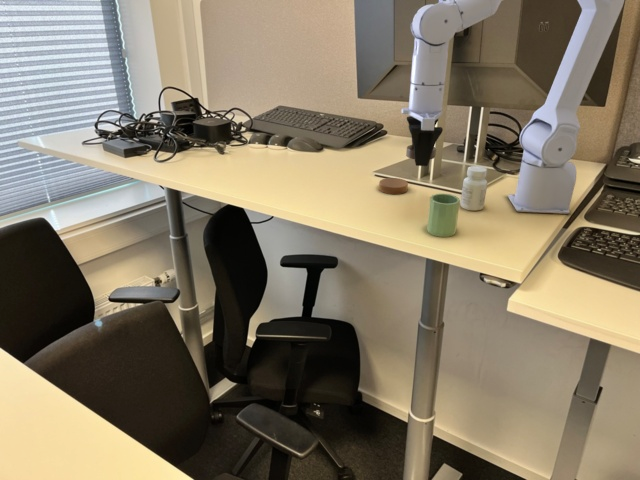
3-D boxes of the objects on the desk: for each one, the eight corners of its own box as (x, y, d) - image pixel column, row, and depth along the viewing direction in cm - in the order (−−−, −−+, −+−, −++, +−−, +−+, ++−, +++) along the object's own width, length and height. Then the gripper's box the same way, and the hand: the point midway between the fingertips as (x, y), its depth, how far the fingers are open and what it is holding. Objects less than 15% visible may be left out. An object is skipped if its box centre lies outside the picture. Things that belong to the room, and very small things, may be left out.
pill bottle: (480, 202, 92) (486, 165, 89) (485, 211, 89) (492, 172, 85) (458, 202, 93) (463, 164, 89) (462, 210, 89) (467, 172, 85)
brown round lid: (433, 152, 87) (434, 144, 86) (436, 160, 83) (437, 152, 82) (405, 151, 88) (406, 143, 87) (406, 159, 83) (407, 151, 82)
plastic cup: (453, 225, 83) (457, 194, 81) (457, 237, 79) (461, 205, 76) (426, 224, 84) (429, 192, 81) (428, 236, 79) (431, 203, 77)
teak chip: (406, 184, 102) (407, 178, 101) (408, 194, 96) (408, 188, 96) (379, 183, 102) (379, 177, 102) (378, 193, 97) (379, 187, 96)
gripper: (402, 76, 86) (397, 148, 92) (405, 89, 73) (399, 172, 80) (441, 77, 85) (433, 149, 92) (451, 90, 73) (441, 173, 79)
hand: (420, 160), depth 86 cm, fingers closed on brown round lid, 5 cm apart
